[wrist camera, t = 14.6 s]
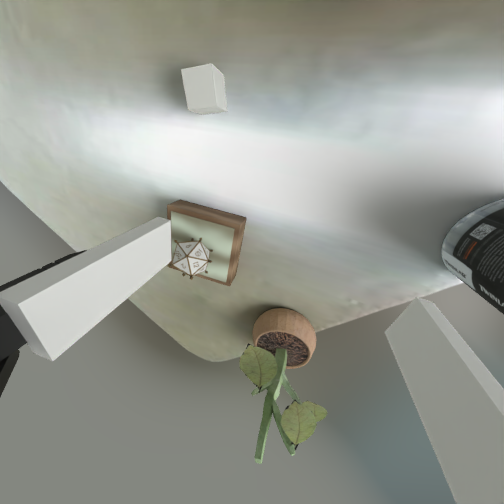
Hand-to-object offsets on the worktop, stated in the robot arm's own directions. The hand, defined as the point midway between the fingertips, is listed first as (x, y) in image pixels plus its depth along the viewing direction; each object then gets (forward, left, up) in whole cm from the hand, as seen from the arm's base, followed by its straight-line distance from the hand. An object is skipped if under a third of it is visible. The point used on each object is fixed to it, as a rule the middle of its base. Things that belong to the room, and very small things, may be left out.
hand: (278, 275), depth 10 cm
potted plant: (+35, +8, -31) cm, 47 cm away
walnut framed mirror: (+17, -16, -31) cm, 39 cm away
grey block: (-11, -18, -31) cm, 38 cm away
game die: (+17, -16, -26) cm, 35 cm away
